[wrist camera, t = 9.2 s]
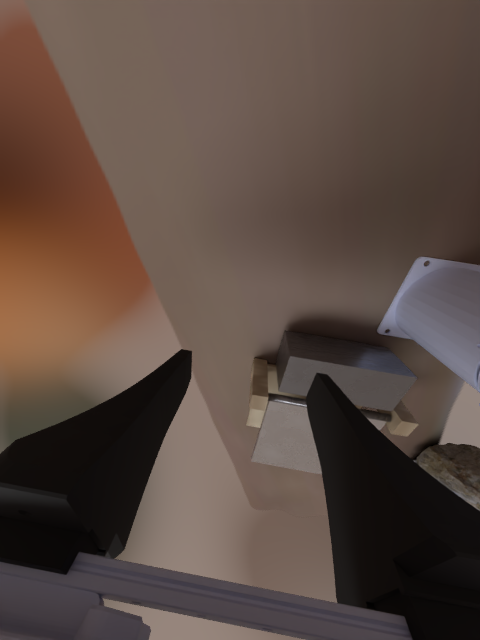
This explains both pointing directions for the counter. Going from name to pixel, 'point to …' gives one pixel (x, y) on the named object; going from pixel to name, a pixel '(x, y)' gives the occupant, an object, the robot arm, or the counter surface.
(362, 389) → the trapdoor
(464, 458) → the rock
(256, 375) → the frame
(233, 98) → the counter surface
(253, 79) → the counter surface
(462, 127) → the counter surface
